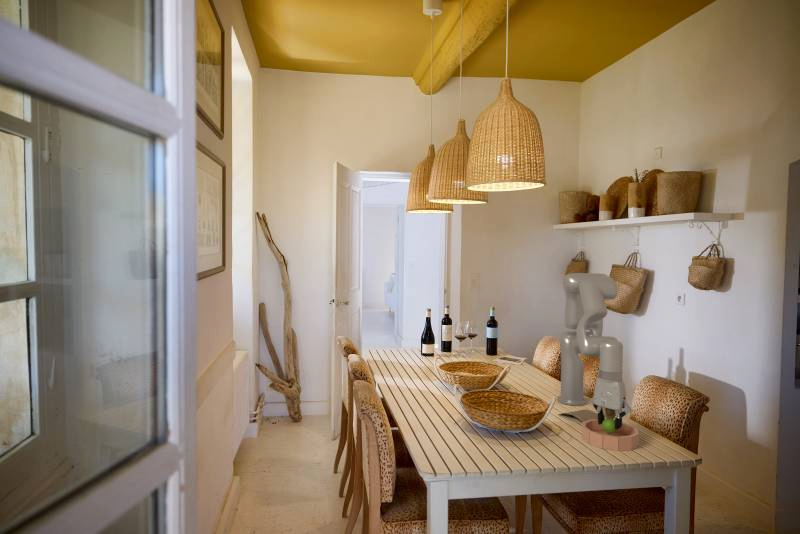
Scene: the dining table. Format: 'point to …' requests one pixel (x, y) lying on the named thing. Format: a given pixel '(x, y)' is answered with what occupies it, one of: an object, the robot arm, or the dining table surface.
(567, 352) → the robot arm
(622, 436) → the terracotta bowl
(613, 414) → the snail figurine
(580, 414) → the clay tablet
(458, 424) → the dining table surface
